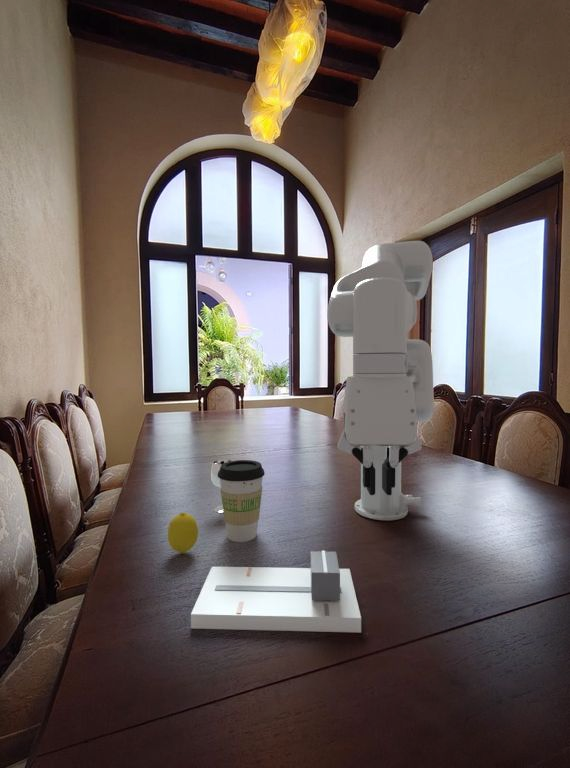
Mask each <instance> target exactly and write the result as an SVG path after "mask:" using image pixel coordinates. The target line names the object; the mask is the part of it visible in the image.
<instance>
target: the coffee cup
mask: <svg viewBox="0 0 570 768" xmlns="http://www.w3.org/2000/svg"><path fill="white" fill-rule="evenodd" d="M264 476H265V470H264V468H263V466H262V463H261V462H259V461H256V460H250V459H238V460H231V461H230V462H226V463H223V464H222V465H221V467H220V470H219V471H218V478H220V484H221V488H220V496H221V505H222V504H223V512H224V513H223V518H224V522H225V530H226V537H227V539H228V540H230V541H231V542H235V543H236V542H237V543H246V542H249V541H252V540H254V539H255V538H256V537H257V534H258V525H259V520H260V513H261V512H260V511H261V503H262V495H263V486H262V485H263V484H262V483H263V477H264Z"/></svg>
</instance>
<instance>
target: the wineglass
mask: <svg viewBox="0 0 570 768" xmlns="http://www.w3.org/2000/svg"><path fill="white" fill-rule="evenodd" d="M230 461H232V460H230V459H217V460H214V461H212V465H211V470H210V479H211V483H212V484H213V485H214V486H215V487H218V488H220V489H221V484H220V478H218V471H219V470H220V467H221V465H222V464H223V463H226V462H230ZM213 511H214V512H215V513H219V514H221V513H222V514H224V512H223V504H222V503H221V505H218V506H216V507H214V510H213Z"/></svg>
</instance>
